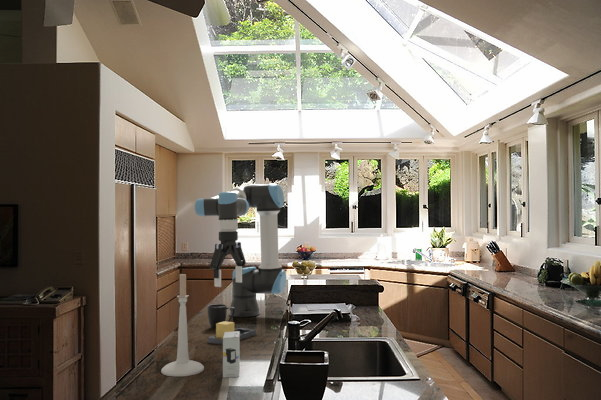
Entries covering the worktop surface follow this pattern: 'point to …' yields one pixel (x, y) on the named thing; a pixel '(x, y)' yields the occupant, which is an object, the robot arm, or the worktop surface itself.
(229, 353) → the ink box
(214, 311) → the mug
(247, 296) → the robot arm
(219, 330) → the yellow block
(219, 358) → the worktop surface
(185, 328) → the candlestick
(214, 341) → the frame with square openings
